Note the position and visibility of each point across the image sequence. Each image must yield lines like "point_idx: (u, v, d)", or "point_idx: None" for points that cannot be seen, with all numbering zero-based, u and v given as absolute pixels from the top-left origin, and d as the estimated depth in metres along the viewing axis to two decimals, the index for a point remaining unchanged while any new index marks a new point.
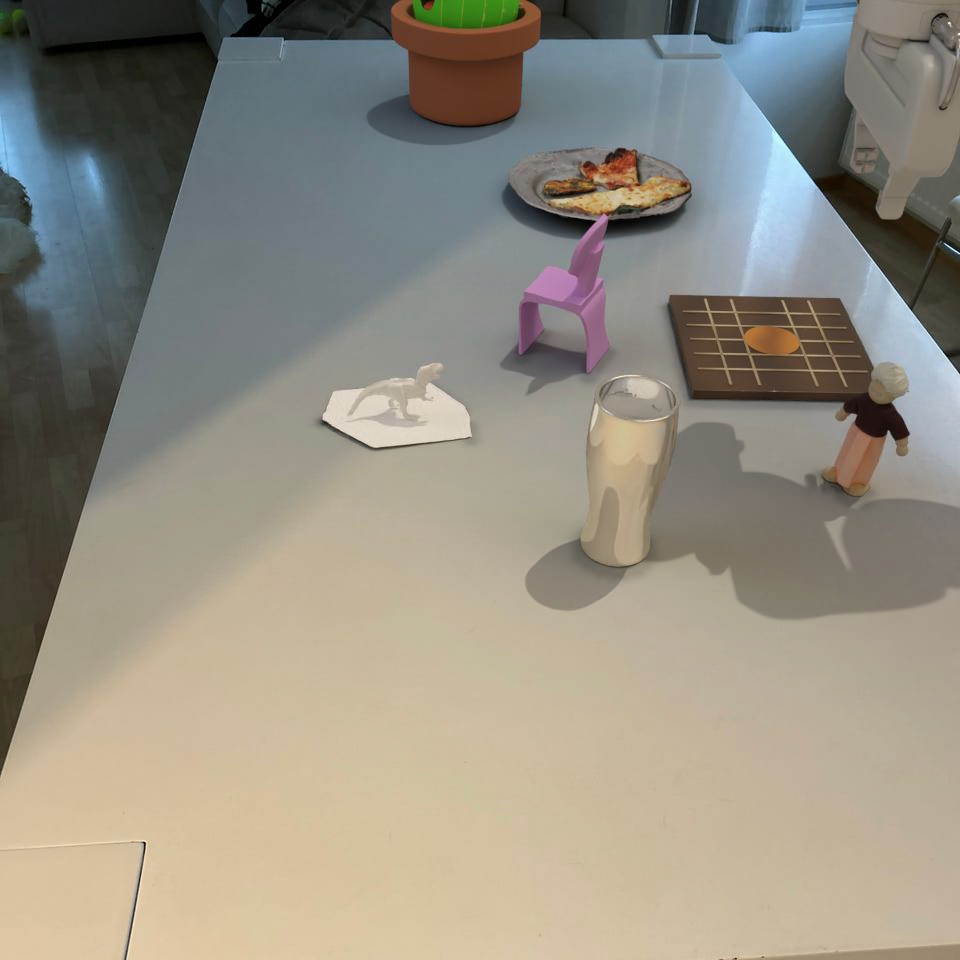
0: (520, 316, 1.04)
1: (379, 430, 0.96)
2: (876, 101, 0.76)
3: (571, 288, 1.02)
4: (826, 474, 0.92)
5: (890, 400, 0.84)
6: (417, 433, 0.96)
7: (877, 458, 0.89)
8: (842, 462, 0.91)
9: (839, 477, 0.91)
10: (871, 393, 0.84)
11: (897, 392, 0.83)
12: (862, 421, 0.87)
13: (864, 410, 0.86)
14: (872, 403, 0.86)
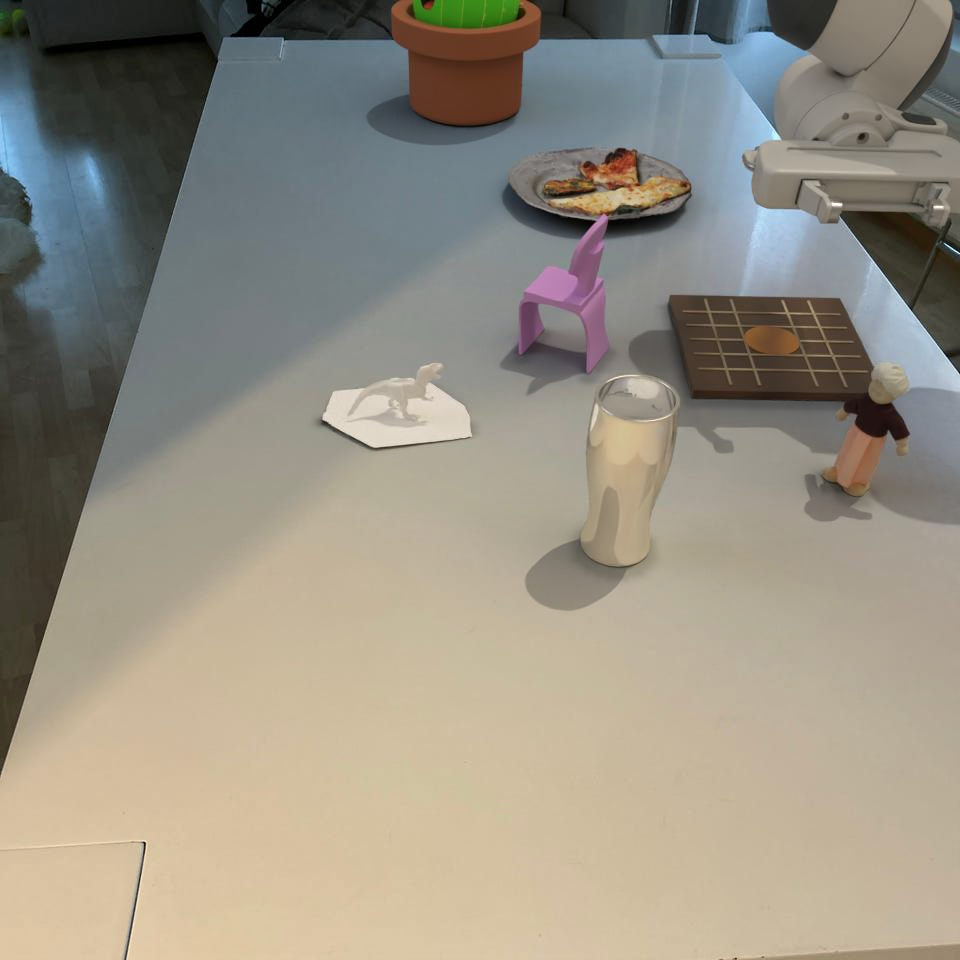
0: (520, 316, 1.04)
1: (379, 430, 0.96)
2: None
3: (571, 288, 1.02)
4: (826, 474, 0.92)
5: (890, 400, 0.84)
6: (417, 433, 0.96)
7: (877, 458, 0.89)
8: (842, 462, 0.91)
9: (839, 477, 0.91)
10: (871, 393, 0.84)
11: (897, 392, 0.83)
12: (862, 421, 0.87)
13: (864, 410, 0.86)
14: (872, 403, 0.86)
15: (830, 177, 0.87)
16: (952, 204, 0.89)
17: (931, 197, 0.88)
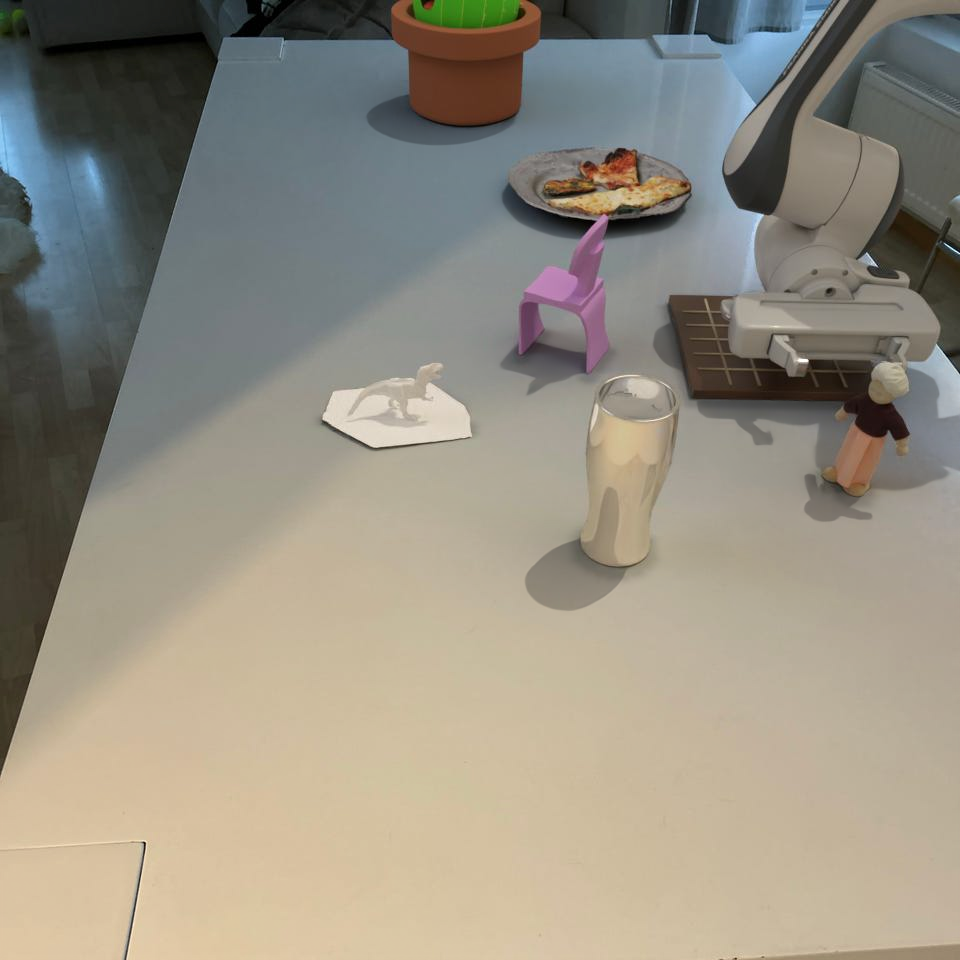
0: (520, 316, 1.04)
1: (379, 430, 0.96)
2: None
3: (571, 288, 1.02)
4: (826, 474, 0.92)
5: (890, 400, 0.84)
6: (417, 433, 0.96)
7: (877, 458, 0.89)
8: (842, 462, 0.91)
9: (839, 477, 0.91)
10: (871, 393, 0.84)
11: (897, 392, 0.83)
12: (862, 421, 0.87)
13: (864, 410, 0.86)
14: (872, 403, 0.86)
15: (798, 332, 0.95)
16: (913, 354, 0.97)
17: (892, 350, 0.96)
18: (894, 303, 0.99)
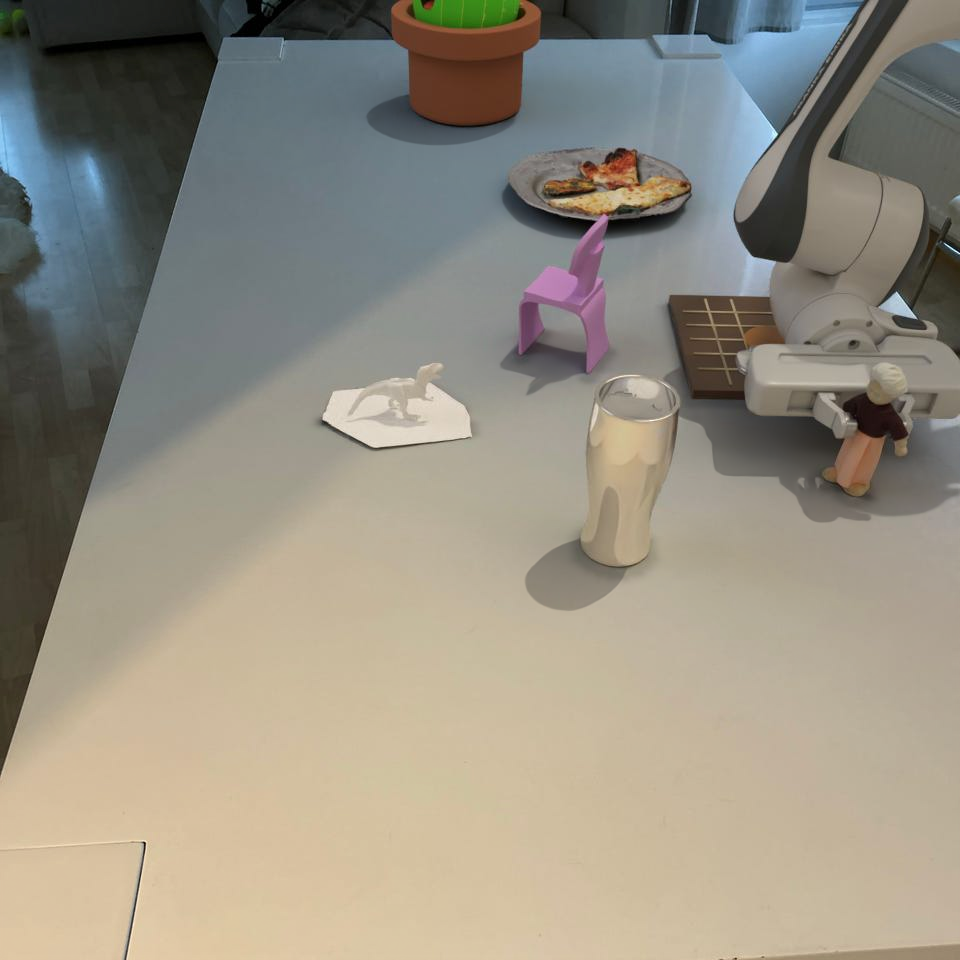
0: (520, 316, 1.04)
1: (379, 430, 0.96)
2: None
3: (571, 288, 1.02)
4: (826, 474, 0.92)
5: (888, 401, 0.84)
6: (417, 433, 0.96)
7: (876, 458, 0.88)
8: (842, 462, 0.91)
9: (839, 477, 0.91)
10: (869, 394, 0.84)
11: (895, 393, 0.83)
12: (861, 421, 0.87)
13: (863, 411, 0.86)
14: (871, 403, 0.85)
15: (820, 389, 0.89)
16: (942, 411, 0.91)
17: (895, 407, 0.89)
18: (922, 356, 0.93)
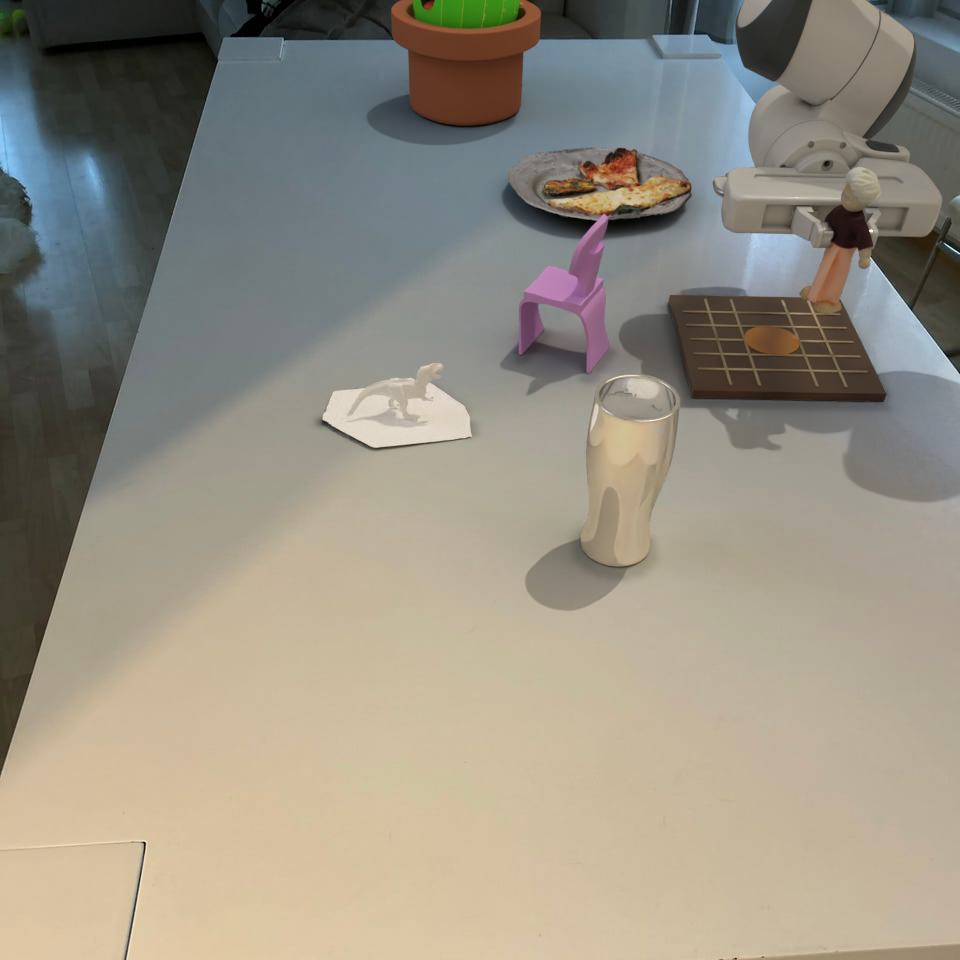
0: (520, 316, 1.04)
1: (379, 430, 0.96)
2: None
3: (571, 288, 1.02)
4: (802, 291, 0.95)
5: (857, 206, 0.86)
6: (417, 433, 0.96)
7: (845, 273, 0.90)
8: None
9: (809, 291, 0.93)
10: (841, 198, 0.87)
11: (863, 197, 0.85)
12: (834, 231, 0.89)
13: (836, 218, 0.89)
14: (844, 210, 0.88)
15: (794, 203, 0.91)
16: (913, 228, 0.93)
17: None
18: (894, 177, 0.95)
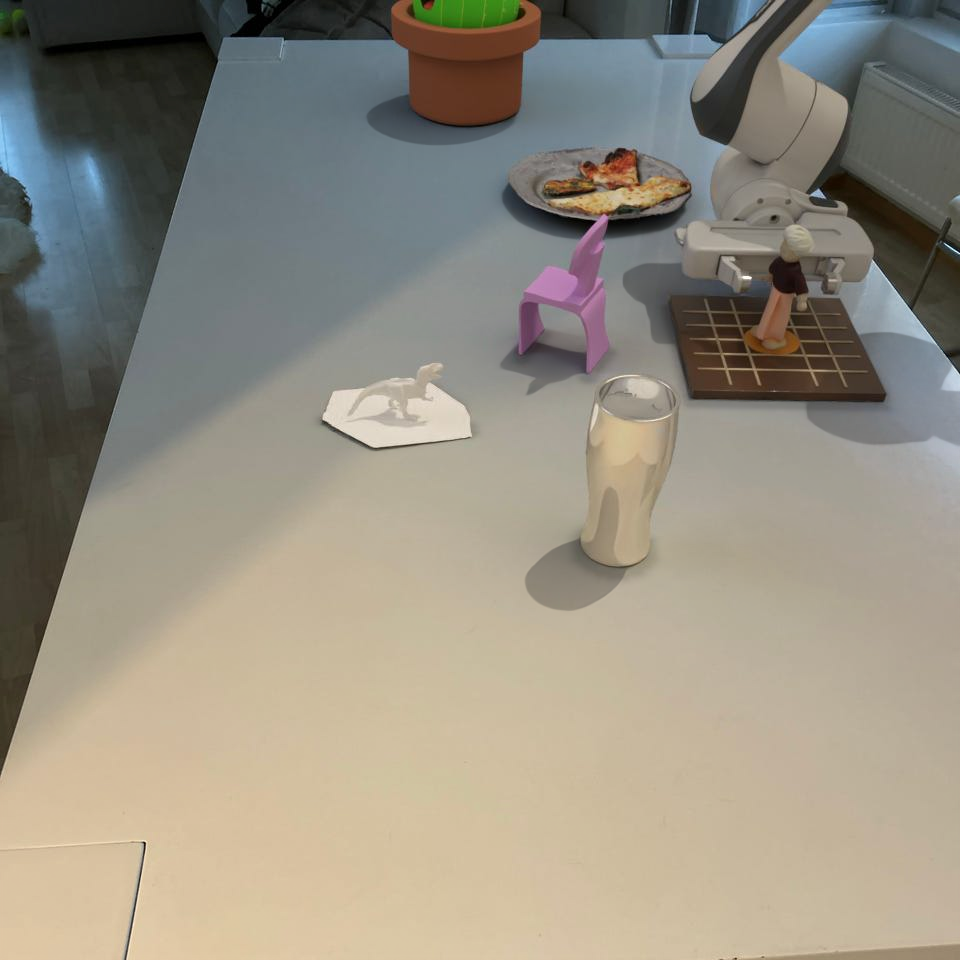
0: (520, 316, 1.04)
1: (379, 430, 0.96)
2: None
3: (571, 288, 1.02)
4: (752, 329, 1.08)
5: (793, 258, 0.99)
6: (417, 433, 0.96)
7: (786, 314, 1.04)
8: None
9: (757, 330, 1.06)
10: (780, 251, 1.00)
11: (797, 250, 0.98)
12: (775, 278, 1.02)
13: (777, 268, 1.02)
14: (783, 261, 1.01)
15: (744, 253, 1.04)
16: (849, 275, 1.06)
17: (829, 270, 1.05)
18: (833, 229, 1.08)
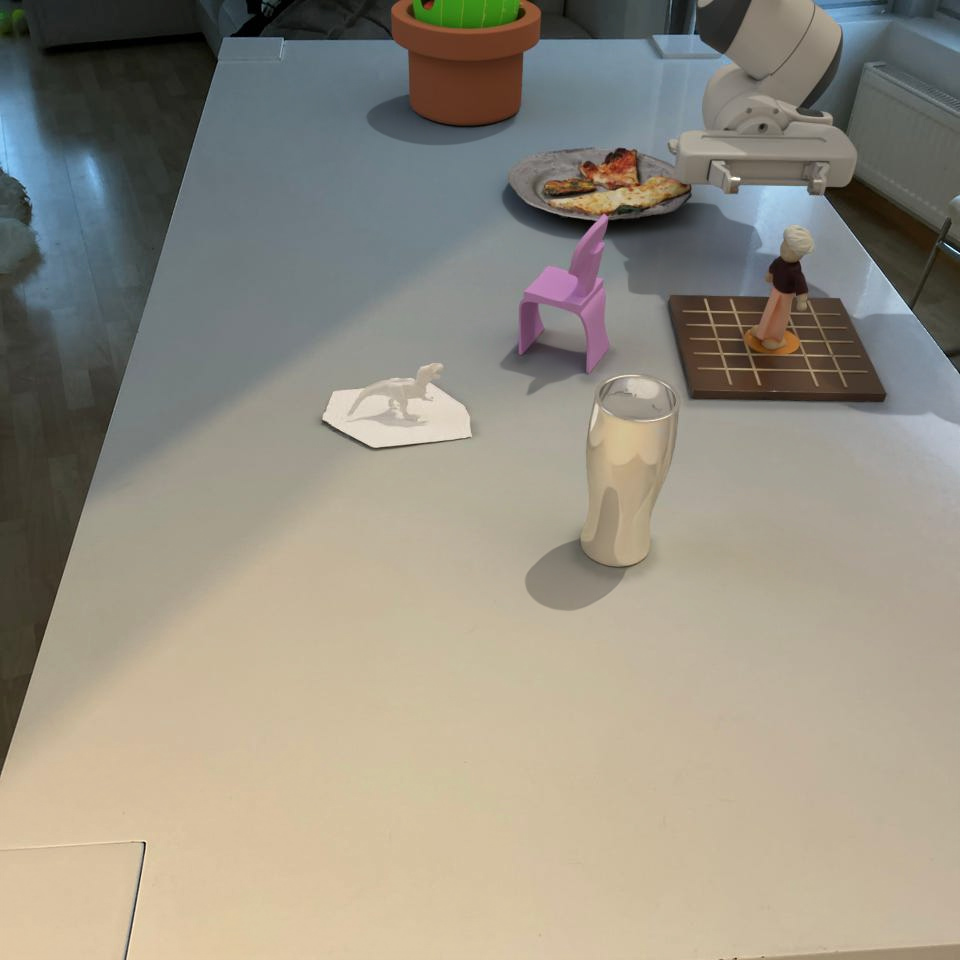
0: (520, 316, 1.04)
1: (379, 430, 0.96)
2: None
3: (571, 288, 1.02)
4: (752, 329, 1.08)
5: (793, 258, 0.99)
6: (417, 433, 0.96)
7: (786, 314, 1.04)
8: None
9: (757, 330, 1.06)
10: (780, 251, 1.00)
11: (797, 250, 0.98)
12: (775, 278, 1.02)
13: (777, 268, 1.02)
14: (783, 261, 1.01)
15: (733, 158, 1.10)
16: (834, 179, 1.11)
17: (815, 173, 1.10)
18: (819, 137, 1.13)
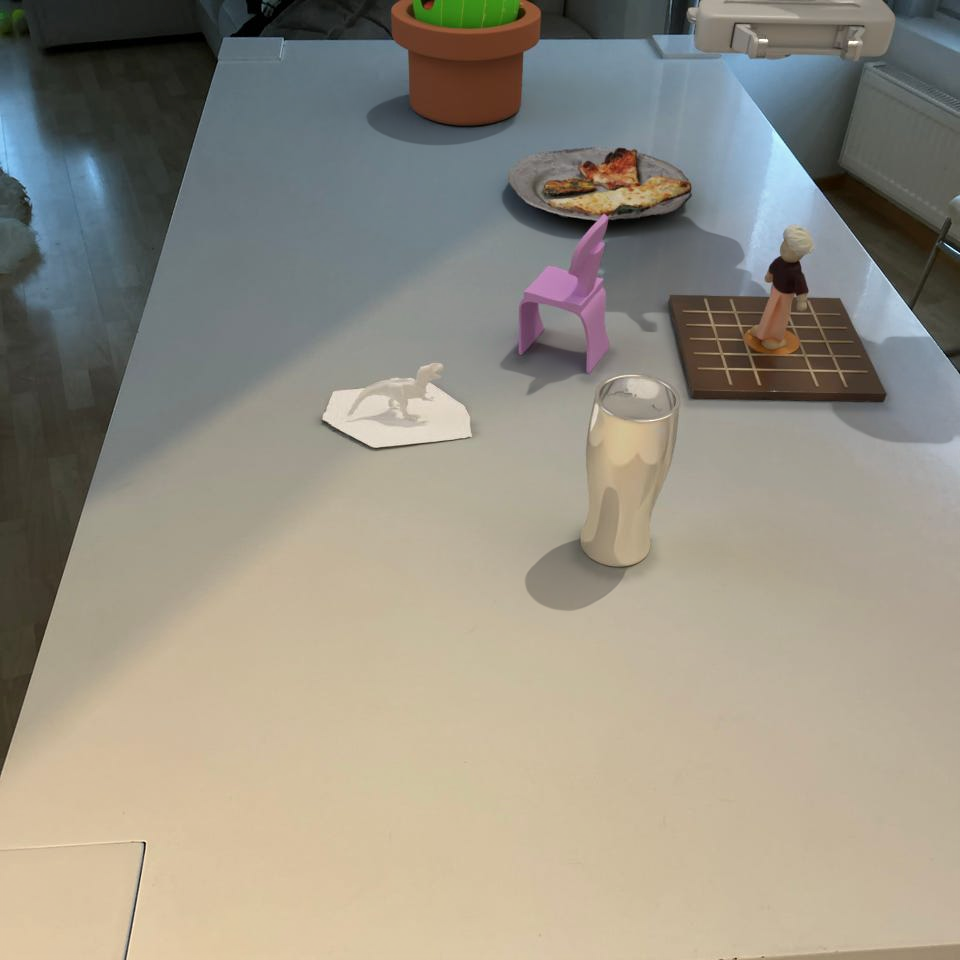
0: (520, 316, 1.04)
1: (379, 430, 0.96)
2: None
3: (571, 288, 1.02)
4: (752, 329, 1.08)
5: (793, 258, 0.99)
6: (417, 433, 0.96)
7: (786, 314, 1.04)
8: None
9: (757, 330, 1.06)
10: (780, 251, 1.00)
11: (797, 250, 0.98)
12: (775, 278, 1.02)
13: (777, 268, 1.02)
14: (783, 261, 1.01)
15: (759, 21, 1.00)
16: (869, 47, 1.02)
17: None
18: (852, 4, 1.03)
